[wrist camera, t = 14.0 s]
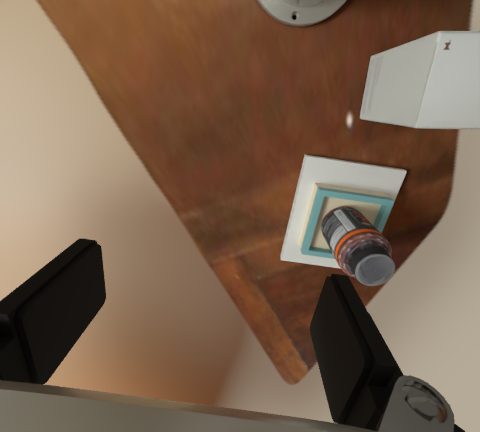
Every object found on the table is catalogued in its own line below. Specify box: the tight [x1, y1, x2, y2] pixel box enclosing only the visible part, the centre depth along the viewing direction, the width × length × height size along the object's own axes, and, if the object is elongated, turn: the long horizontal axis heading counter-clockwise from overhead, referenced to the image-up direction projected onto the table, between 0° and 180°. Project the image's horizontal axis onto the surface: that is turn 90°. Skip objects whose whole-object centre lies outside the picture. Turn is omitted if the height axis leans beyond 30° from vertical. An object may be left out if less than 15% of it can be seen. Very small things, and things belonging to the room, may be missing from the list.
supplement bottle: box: [321, 206, 395, 286], centre depth 31 cm, size 6×6×11 cm
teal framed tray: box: [281, 154, 407, 268], centre depth 38 cm, size 17×14×4 cm
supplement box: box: [360, 31, 480, 129], centre depth 27 cm, size 7×7×13 cm
